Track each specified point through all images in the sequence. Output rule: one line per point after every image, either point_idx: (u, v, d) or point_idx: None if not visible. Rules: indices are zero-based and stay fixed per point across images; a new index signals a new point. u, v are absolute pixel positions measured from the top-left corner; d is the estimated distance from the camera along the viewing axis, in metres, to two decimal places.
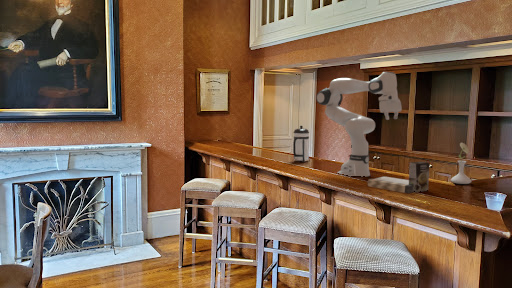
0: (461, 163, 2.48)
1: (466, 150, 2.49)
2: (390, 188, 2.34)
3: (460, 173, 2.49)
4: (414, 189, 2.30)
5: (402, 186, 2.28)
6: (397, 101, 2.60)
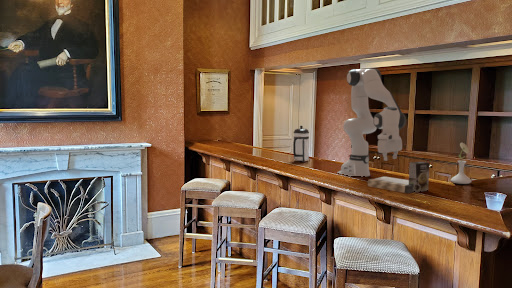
0: (461, 163, 2.48)
1: (466, 150, 2.49)
2: (390, 188, 2.34)
3: (460, 173, 2.49)
4: (414, 189, 2.30)
5: (402, 186, 2.28)
6: (398, 140, 2.36)
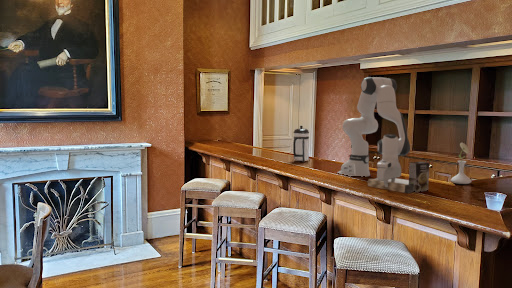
0: (461, 163, 2.48)
1: (466, 150, 2.49)
2: (390, 188, 2.34)
3: (460, 173, 2.49)
4: (414, 189, 2.30)
5: (402, 186, 2.28)
6: (397, 166, 2.38)
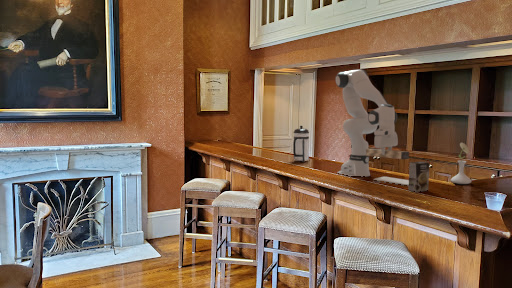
0: (461, 163, 2.48)
1: (466, 150, 2.49)
2: (387, 155, 2.44)
3: (460, 173, 2.49)
4: (414, 189, 2.30)
5: (399, 153, 2.38)
6: (393, 135, 2.48)
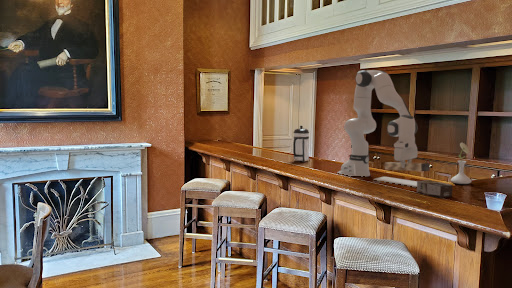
0: (461, 163, 2.48)
1: (466, 150, 2.49)
2: (407, 168, 2.35)
3: (460, 173, 2.49)
4: (418, 189, 2.27)
5: (418, 164, 2.29)
6: (413, 147, 2.39)
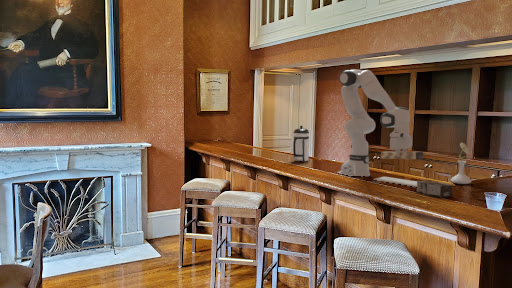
0: (461, 163, 2.48)
1: (466, 150, 2.49)
2: (402, 157, 2.50)
3: (460, 173, 2.49)
4: (418, 189, 2.27)
5: (413, 153, 2.44)
6: (408, 137, 2.53)
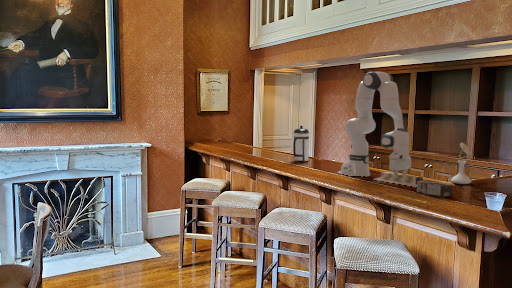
0: (461, 163, 2.48)
1: (466, 150, 2.49)
2: (402, 180, 2.51)
3: (460, 173, 2.49)
4: (418, 189, 2.27)
5: (413, 178, 2.46)
6: (407, 158, 2.55)
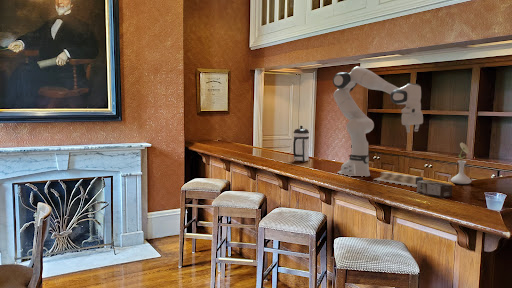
0: (461, 163, 2.48)
1: (466, 150, 2.49)
2: (402, 180, 2.51)
3: (460, 173, 2.49)
4: (418, 189, 2.27)
5: (413, 178, 2.46)
6: (419, 114, 2.56)
